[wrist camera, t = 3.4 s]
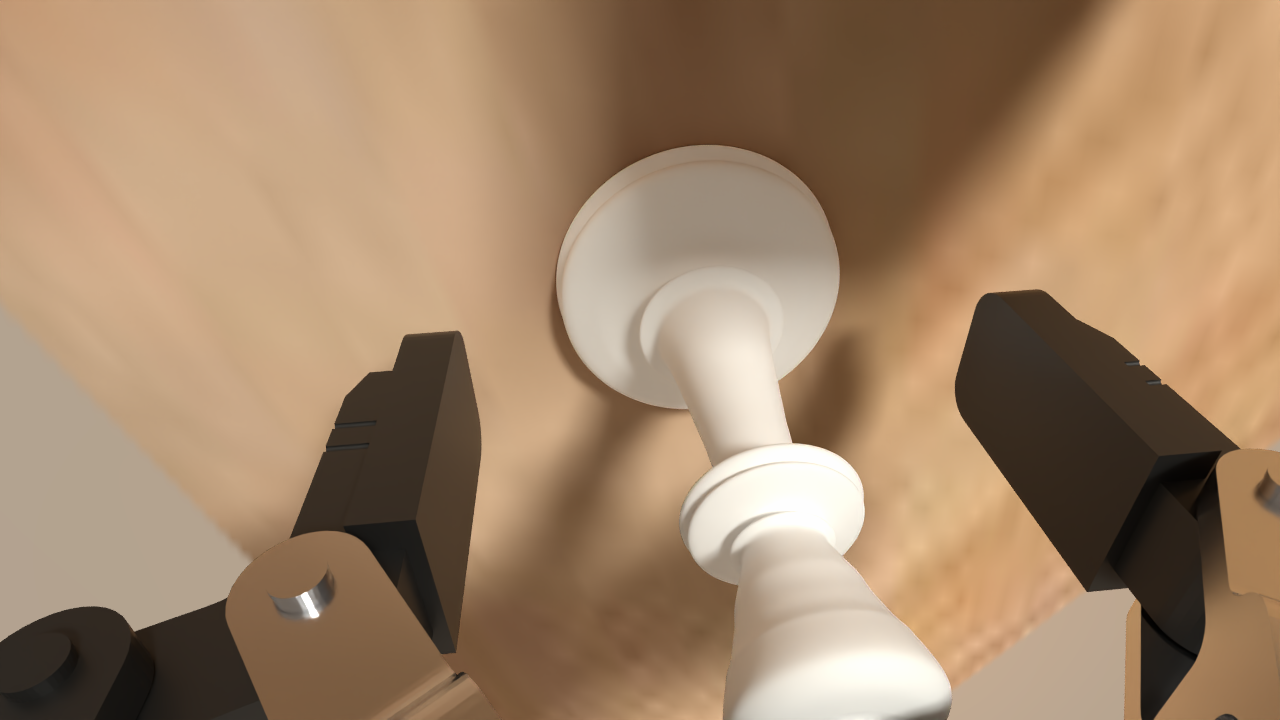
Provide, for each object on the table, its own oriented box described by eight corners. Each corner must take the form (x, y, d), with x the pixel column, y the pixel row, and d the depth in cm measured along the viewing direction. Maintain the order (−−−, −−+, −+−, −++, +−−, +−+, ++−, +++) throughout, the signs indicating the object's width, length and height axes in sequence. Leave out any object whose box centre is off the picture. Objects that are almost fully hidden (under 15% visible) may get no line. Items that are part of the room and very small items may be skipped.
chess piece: (568, 126, 11) (597, 903, 3) (869, 160, 12) (1565, 847, 4) (547, 384, 14) (531, 1151, 6) (791, 397, 15) (1090, 1088, 6)
